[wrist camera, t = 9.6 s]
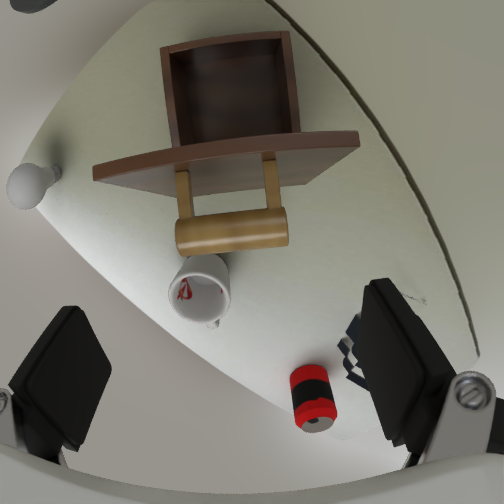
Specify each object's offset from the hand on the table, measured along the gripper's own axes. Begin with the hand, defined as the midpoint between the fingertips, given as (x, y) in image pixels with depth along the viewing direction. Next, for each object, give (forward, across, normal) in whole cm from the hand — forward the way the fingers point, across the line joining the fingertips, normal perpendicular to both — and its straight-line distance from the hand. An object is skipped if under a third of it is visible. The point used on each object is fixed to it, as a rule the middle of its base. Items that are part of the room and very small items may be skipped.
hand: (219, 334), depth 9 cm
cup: (+31, +7, +16) cm, 36 cm away
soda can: (+31, -8, +41) cm, 52 cm away
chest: (+31, 0, -7) cm, 32 cm away
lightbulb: (+31, +28, -4) cm, 42 cm away
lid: (+14, 0, -3) cm, 14 cm away
